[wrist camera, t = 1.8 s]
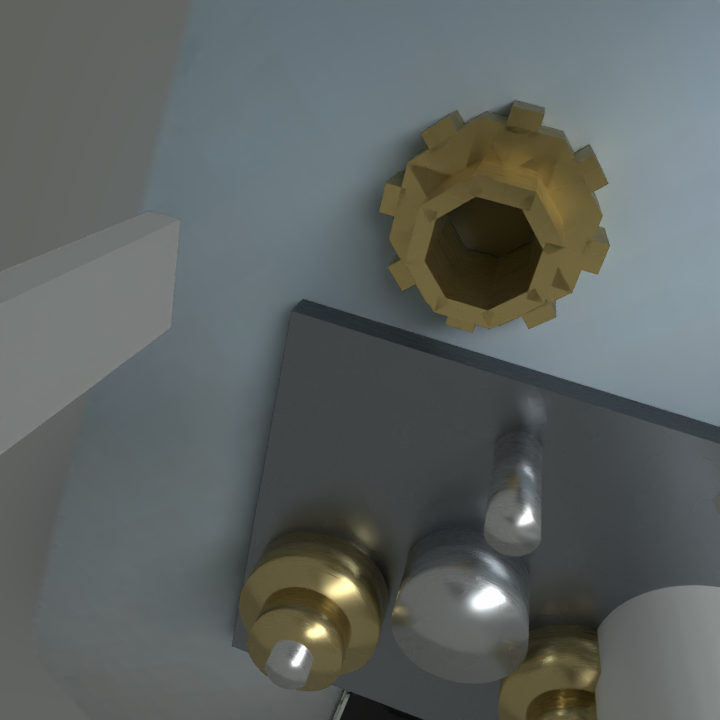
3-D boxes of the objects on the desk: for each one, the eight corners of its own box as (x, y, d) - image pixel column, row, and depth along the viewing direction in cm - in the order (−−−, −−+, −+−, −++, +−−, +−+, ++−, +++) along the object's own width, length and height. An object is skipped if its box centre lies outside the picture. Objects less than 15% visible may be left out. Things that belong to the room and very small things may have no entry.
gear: (421, 76, 24) (387, 85, 19) (642, 133, 23) (670, 158, 18) (373, 278, 28) (334, 331, 23) (561, 334, 27) (564, 403, 22)
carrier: (302, 299, 30) (239, 365, 23) (808, 454, 27) (885, 575, 21) (242, 626, 40) (186, 731, 34) (602, 762, 37) (613, 904, 31)
